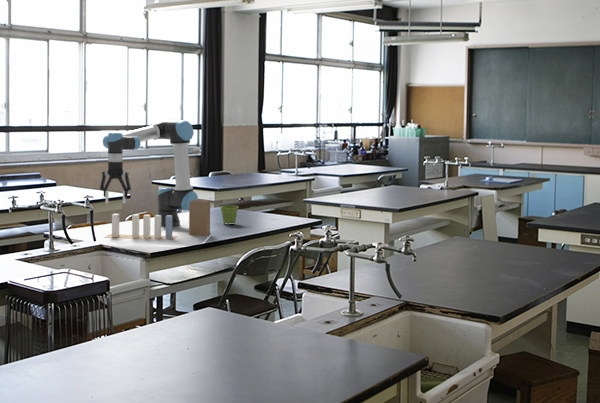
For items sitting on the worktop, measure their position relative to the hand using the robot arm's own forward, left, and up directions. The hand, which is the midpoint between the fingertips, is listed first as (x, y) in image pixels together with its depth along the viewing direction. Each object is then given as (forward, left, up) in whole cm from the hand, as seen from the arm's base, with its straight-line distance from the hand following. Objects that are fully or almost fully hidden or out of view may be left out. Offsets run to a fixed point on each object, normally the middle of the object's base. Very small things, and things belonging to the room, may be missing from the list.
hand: (115, 203), depth 365 cm
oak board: (0, +14, -19) cm, 24 cm away
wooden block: (-16, +43, -19) cm, 50 cm away
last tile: (0, +29, -18) cm, 34 cm away
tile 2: (0, +11, -18) cm, 21 cm away
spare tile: (0, 0, -18) cm, 18 cm away
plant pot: (-62, +54, -19) cm, 84 cm away
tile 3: (0, +17, -18) cm, 25 cm away
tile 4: (0, +23, -18) cm, 29 cm away
